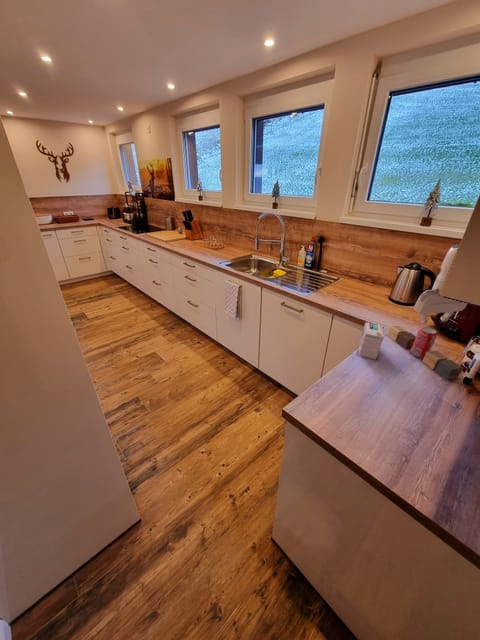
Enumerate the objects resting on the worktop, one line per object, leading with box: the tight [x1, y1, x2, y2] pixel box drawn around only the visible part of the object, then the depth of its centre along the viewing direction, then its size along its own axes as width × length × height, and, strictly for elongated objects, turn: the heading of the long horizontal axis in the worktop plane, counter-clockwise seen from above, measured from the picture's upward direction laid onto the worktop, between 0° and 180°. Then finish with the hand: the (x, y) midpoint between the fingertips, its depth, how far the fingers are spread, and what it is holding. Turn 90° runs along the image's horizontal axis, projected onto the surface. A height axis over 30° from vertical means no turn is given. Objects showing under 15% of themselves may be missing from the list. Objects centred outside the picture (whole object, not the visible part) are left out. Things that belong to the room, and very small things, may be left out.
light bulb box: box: [358, 321, 385, 360], centre depth 108 cm, size 11×7×11 cm, turn 157°
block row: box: [387, 325, 464, 381], centre depth 108 cm, size 5×31×5 cm, turn 13°
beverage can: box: [409, 326, 438, 359], centre depth 106 cm, size 6×6×12 cm
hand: (433, 321), depth 102 cm, fingers open, 8 cm apart
